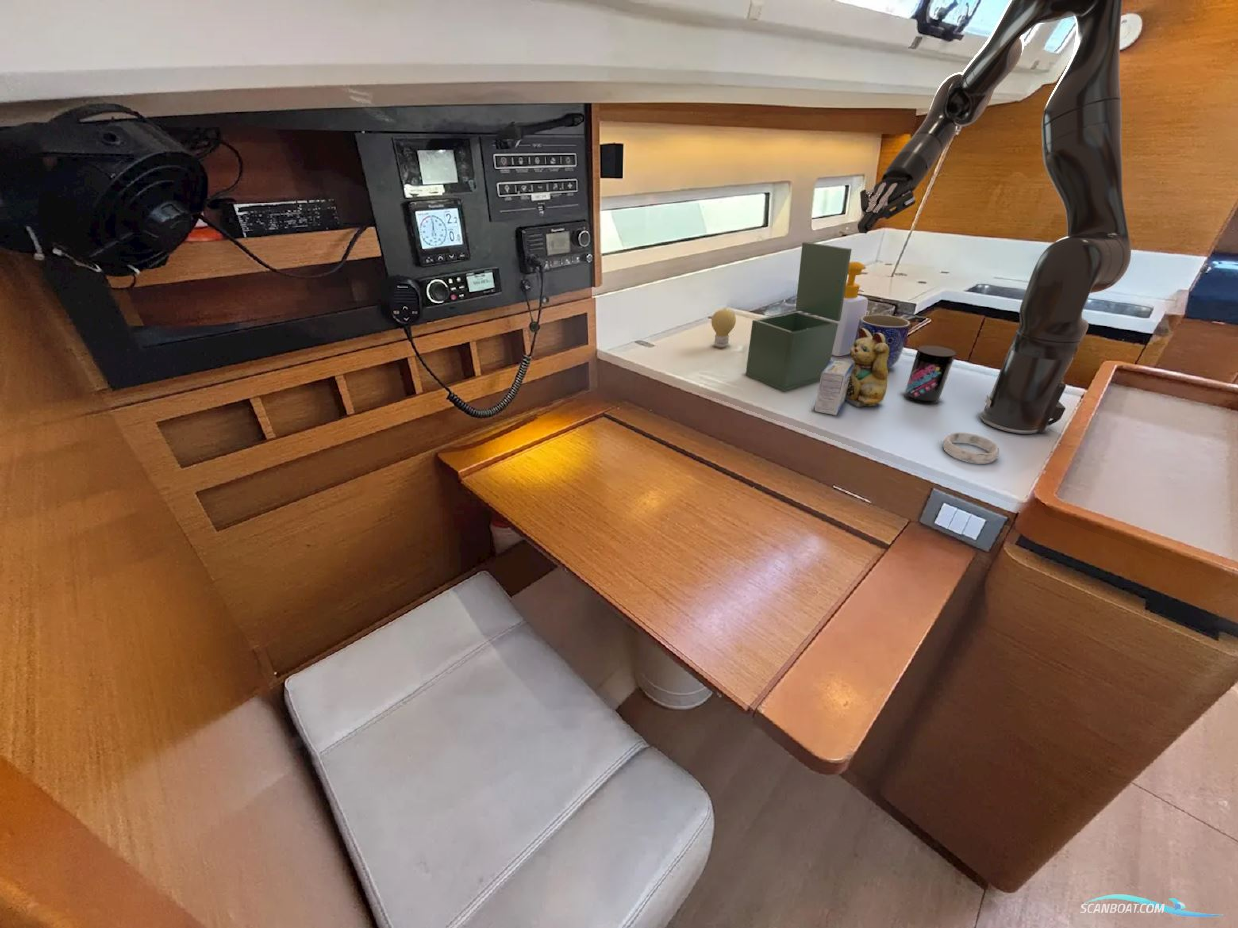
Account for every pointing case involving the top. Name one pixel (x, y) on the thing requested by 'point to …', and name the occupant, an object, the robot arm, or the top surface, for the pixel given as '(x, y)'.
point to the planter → (887, 333)
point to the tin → (790, 349)
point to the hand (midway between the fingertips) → (861, 230)
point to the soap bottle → (849, 312)
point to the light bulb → (723, 326)
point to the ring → (968, 455)
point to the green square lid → (822, 280)
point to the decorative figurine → (868, 370)
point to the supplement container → (929, 374)
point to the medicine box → (833, 387)
